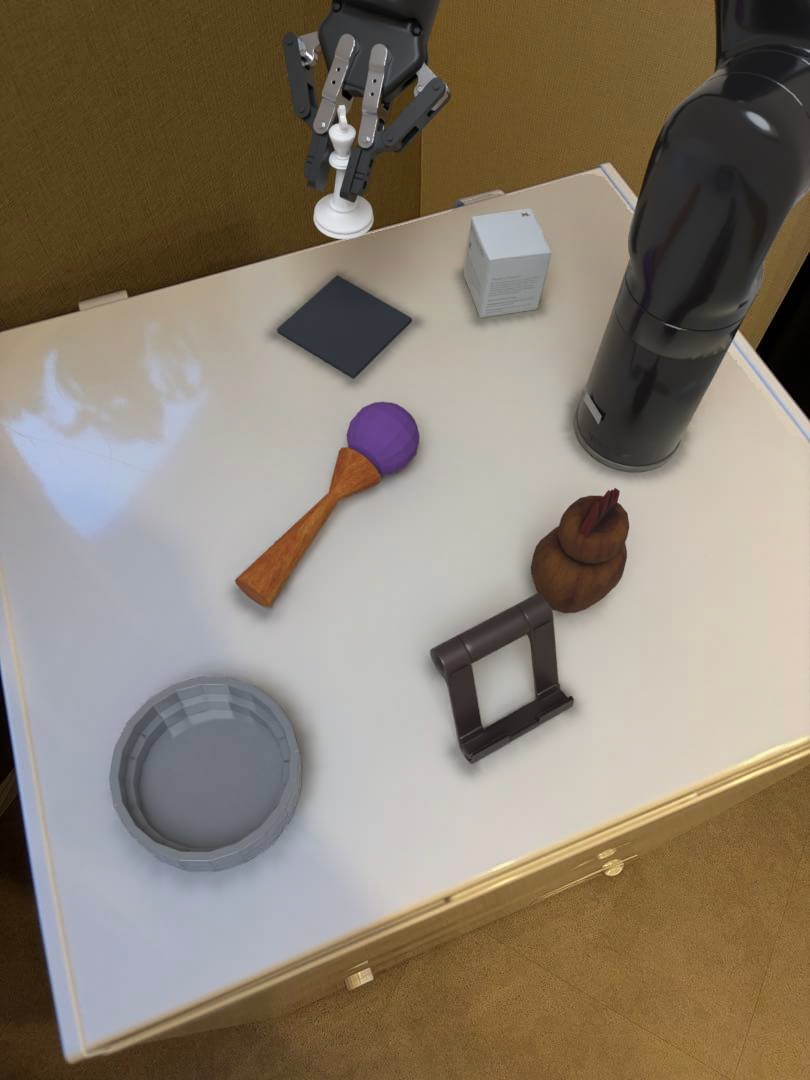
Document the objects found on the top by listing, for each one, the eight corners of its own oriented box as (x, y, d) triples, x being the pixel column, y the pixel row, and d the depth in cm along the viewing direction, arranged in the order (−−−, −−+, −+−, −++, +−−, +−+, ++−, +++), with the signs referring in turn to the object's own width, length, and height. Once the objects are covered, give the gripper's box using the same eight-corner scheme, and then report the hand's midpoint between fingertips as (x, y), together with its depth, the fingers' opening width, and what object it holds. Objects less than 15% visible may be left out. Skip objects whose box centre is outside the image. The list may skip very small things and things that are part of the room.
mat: (337, 278, 87) (337, 274, 86) (411, 321, 84) (412, 317, 84) (277, 332, 83) (276, 328, 82) (353, 379, 80) (353, 375, 80)
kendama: (210, 556, 66) (369, 377, 73) (235, 594, 71) (381, 423, 78) (270, 592, 64) (428, 403, 71) (291, 629, 69) (437, 449, 76)
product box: (461, 274, 88) (469, 214, 81) (520, 266, 89) (533, 205, 82) (478, 319, 85) (489, 260, 78) (539, 310, 86) (554, 251, 79)
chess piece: (318, 242, 71) (313, 131, 63) (309, 201, 74) (303, 88, 65) (378, 236, 72) (382, 125, 63) (367, 195, 74) (369, 83, 66)
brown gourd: (550, 636, 69) (595, 538, 56) (511, 577, 71) (546, 470, 58) (622, 601, 70) (681, 499, 57) (582, 544, 73) (630, 434, 60)
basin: (208, 665, 66) (199, 644, 63) (337, 763, 63) (335, 746, 59) (86, 798, 61) (69, 782, 57) (219, 912, 58) (211, 903, 54)
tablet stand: (468, 769, 63) (483, 732, 56) (412, 677, 66) (419, 631, 59) (569, 710, 66) (595, 668, 58) (511, 625, 69) (529, 575, 62)
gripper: (294, -101, 61) (230, 158, 66) (482, -48, 59) (401, 215, 64) (330, -54, 68) (269, 176, 73) (498, -6, 66) (424, 228, 71)
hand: (331, 193), depth 68 cm, fingers closed on chess piece
